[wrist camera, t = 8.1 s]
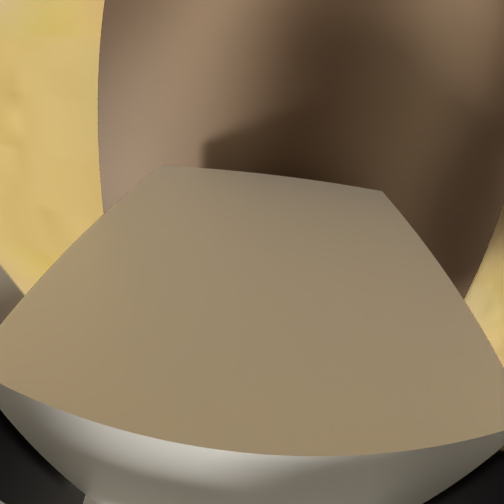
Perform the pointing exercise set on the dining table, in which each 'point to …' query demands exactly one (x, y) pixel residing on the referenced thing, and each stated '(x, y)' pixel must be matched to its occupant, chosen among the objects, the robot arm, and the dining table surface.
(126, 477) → the off-white cube
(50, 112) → the dining table surface
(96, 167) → the dining table surface
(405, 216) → the board
